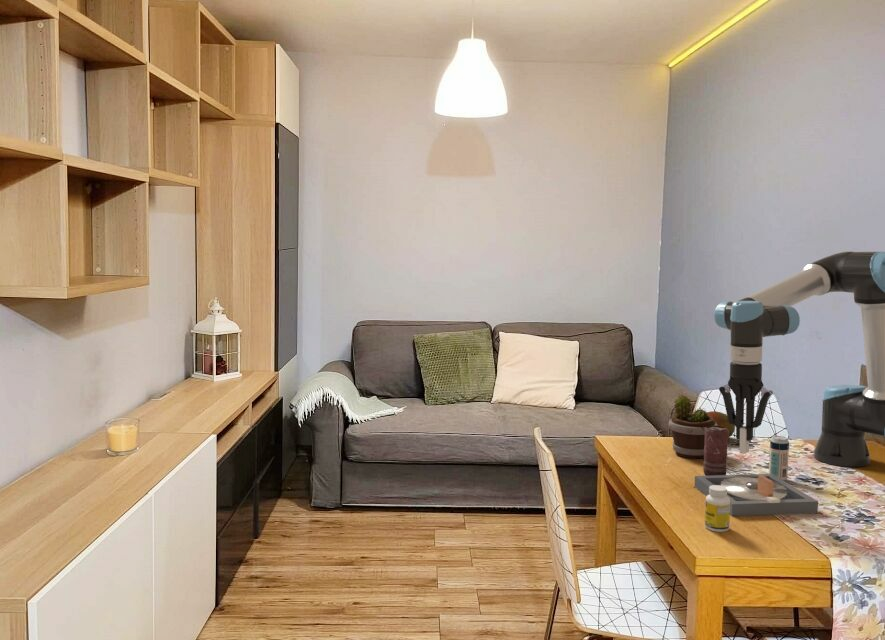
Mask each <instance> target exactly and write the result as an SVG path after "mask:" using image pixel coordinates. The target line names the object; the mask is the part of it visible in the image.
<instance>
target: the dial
mask: <svg viewBox="0 0 885 640" xmlns="http://www.w3.org/2000/svg"><path fill="white" fill-rule="evenodd" d="M721 486H724V487H726V488H727V495H729V496H730V497H731V498H733V499H734V500H735V501H755V500H767V497H777V498H779V499H780V500H787V489H786V488H785V487H784V486H782V485H780V484H778V483H775V482H773V481H771V480H770V479H768V478H766V477H764V476H758V478H749V477H734V478H728V479H725V480H723V481H722V482H721Z"/></svg>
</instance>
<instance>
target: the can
mask: <svg viewBox="0 0 885 640" xmlns="http://www.w3.org/2000/svg"><path fill="white" fill-rule="evenodd" d="M729 438H730V437H729V430H728V429H727V428H725V427H721V426H707V427H706V430H705V446H704V458H703V474H704V476H711V475H727V465H728V464H727V463H728V462H727V461H728V442H729Z"/></svg>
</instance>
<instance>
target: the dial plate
mask: <svg viewBox="0 0 885 640" xmlns="http://www.w3.org/2000/svg"><path fill="white" fill-rule="evenodd" d="M758 476H764V477H766V478H768V479H770V480H771V481H773V482H775V483H778V484H780V485H782V486H784V487H785V488H786V489H787V500H780V499H779V498H777V497H767V500H755V501H735V500H734V499H733V498H731V497H730V496H729V495H726V496H727V497H728V498H729V499H730V516H731V517H740V516H741V517H742V516H743V517H744V516H745V517H747V516H772V515H801V514H805V515H807V514H818V511H819V501H818V499H815V498H813V497H812V496H810V495H808V494H807V493H805V492H803V491H802V490H800V489H799V488H796V487H795V486H794V485H791V484H790V483H788V482H787V481H786V480H785V481H783V480H782V479H780V478H778V477H777V476H775V475H773V474H769V473H756V474H755V473H753V474H751V473H750V474H748V473H747V474H726V475H711V476H706V475H695V476H694V488H696V489H697V490H698V491H700V493H702V494H704V496H706V497H707V496H708V495H710V494H709V487H710V486H712V485H720V486H721V482H722V481H723V480H725V479H728V478H734V477H749V478H758Z"/></svg>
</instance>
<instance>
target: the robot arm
mask: <svg viewBox="0 0 885 640" xmlns="http://www.w3.org/2000/svg"><path fill="white" fill-rule="evenodd" d="M834 292H838V293H839V292H842V293H850V294H852V293H853V300H854V303H855V304H856V305H858V306H859V307H860V308H861V311H860V313H861V320H862V321H861V322H862V333H863V342H864V344H863V345H864V355H865V358H864V359H865V370H866V379H867V386H866V385H861V384H859V385H857V384H838V385H830V386H827V387H826V388H824V390H823V397H822V413H821V415H822V416H821V418H822V419H821V433H820V436H819V438H818V440H817V443H816V445H815V447H814V449H813V451H814V452H813V457H814V459H815V460H817V461H819V462H821V463H824V464H829V465H833V466H839V467H850V468H851V467H853V468H855V467H856V468H859V467H866V466H869V465H870V464H871V463H870V462H871V455H870V452H869V448H868V444H867V442H866V437H865V435H866V434H870V435H874V436H877V437H881V438H885V251H843V252H838V253H833V254H832V255H828V256H825V257H822V258H820V259H818V260H816V261H813V262H811V263H809V264H807V265H805V266H804V267H803V268H802V270H801V271H800V272H798V273H796V274H793V275H792V276H789V277H786V278H784V279H783V280H781V281H779V282H777V283H774V284H772V285H770V286H768V287H765V288H764V289H760V290H759V291H756V292H754V293H752V294H751V295H750V294H749V295H748V296H746V297H743V298H742V299H741V298H740V300H737V301H732V300H731V301H722V302H719V304H718V305H717V306H716V307H715V309H714V313H713V318H714V322H715V324H716V325H717V326H718V327H719V328H722V329H727V330H728V331H730V347H729V349H730V351H729V353H730V356H729V359H730V360H731V362H730V363H729V380H728V381H727V383H726V384H724V385H721V386H720V387H719V388H718V390H719V392H720V395H721V396H722V398H723V403H724V408H725V412H726V415H727V417H728V421H729V423H730V424H733V425H735V438H736V439H737V440H739V452H738V453H740V454H744V455H745V454H748V452H750V442H751V441H753V439H754V429H755V428H758V427H760V426H761V425H762V423H763V419H764V416H765V411H766V409H767V405H768V403H769V399H770V398H771V397H772V396H773V394H774V392H773V391H772V390H769V389H767V388H766V387H765V386H764V383H763V380H762V379H763V378H762V377H763V375H762V374H763V364H762V363H761V362H762V361H763V338H765V337H766V338H767V337H773V336H774V337H775V336H785V335H788V334H793V333H795V332H796V331H797V330H798V329H799V326H800V321H801V320H800V314H799V311H797V309H796V308H795V307H793V306H794V305H797V304H799V303H801V302H802V301H804V300H807V299H808V298H809V299H810V297H813V296H817V297H819V296H824V295H826V294H828V293H834ZM731 391H732V393H731ZM759 393H760V400H759V403H758V407H757V409H756V413H755V401H756V397H757V396H758V394H759ZM732 394H734V396H735V398H734V399H735V407H734V402H733V398H732ZM745 404H746V405H745ZM745 412H746V413H745ZM744 414H745V415H744ZM744 421H745V422H744ZM865 433H866V434H865Z"/></svg>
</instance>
